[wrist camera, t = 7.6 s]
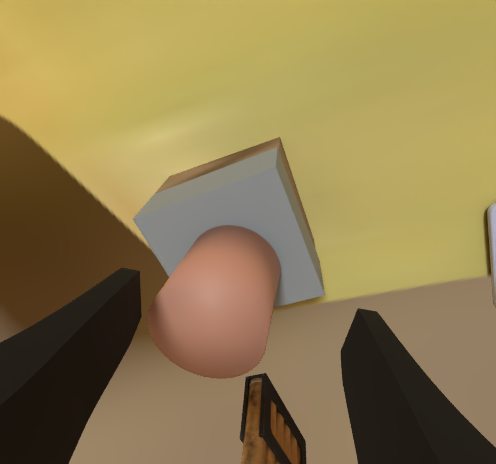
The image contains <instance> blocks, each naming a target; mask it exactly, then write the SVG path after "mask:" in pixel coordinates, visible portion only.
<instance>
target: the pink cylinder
mask: <svg viewBox="0 0 496 464" xmlns="http://www.w3.org/2000/svg"><path fill="white" fill-rule="evenodd" d="M279 277H280V263H279V259H278V257H277V254H276V252H275V251H274V249H273V248H272V246H271V245H270V244H269V243H268V242H267V241H266V240H265V239H264V238H263V237H262V236H261V235H259V234H257V233H256V232H254V231H252V230H250V229H247V228H244V227H240V226H234V225H223V226H217V227H214V228H211V229H209V230H207V231H206V232H204V233H203V234H201V235H200V236H199V237H198V238H197V240H196V241H195V242H194V244H193V245H192V247H191V248H190V249H189V251H188V252H187V254H186V255H185V256H184V258H183V259H182V261H181V262H180V263H179V265H178V266H177V268H176V269H175V271H174V272H173V273H172V275H171V276H170V278H169V279H168V280H167V282H166V283H165V285H164V286H163V287H162V289H161V290H160V292H159V293H158V295H157V296H156V297H155V299H154V300H153V302H152V304H151V305H150V308H149V310H148V316H147V324H148V329H149V332H150V335H151V337H152V339H153V341H154V343H155V344H156V346H157V347H158V349H159V350H160V351H161V352H162V353H163V354H164V355H165V356H166V357H167V358H168V359H169V360H170V361H172V362H173V363H175V364H176V365H178V366H179V367H181V368H183V369H185V370H187V371H189V372H192V373H194V374H197V375H201V376H204V377H210V378H231V377H236V376H240V375H242V374H245V373H247V372H249V371H250V370H252V369H253V368H254V367H255V366H257V364H258V363H259V362H260V361H261V359H262V357H263V355H264V353H265V348H266V343H267V338H268V333H269V328H270V323H271V318H272V313H273V308H274V303H275V297H276V292H277V287H278V282H279Z"/></svg>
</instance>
